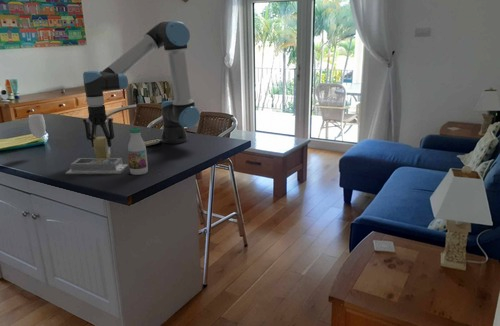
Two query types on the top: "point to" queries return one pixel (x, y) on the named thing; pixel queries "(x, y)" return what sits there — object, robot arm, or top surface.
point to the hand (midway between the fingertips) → (102, 153)
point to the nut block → (101, 147)
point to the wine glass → (37, 125)
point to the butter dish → (97, 166)
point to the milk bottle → (137, 153)
